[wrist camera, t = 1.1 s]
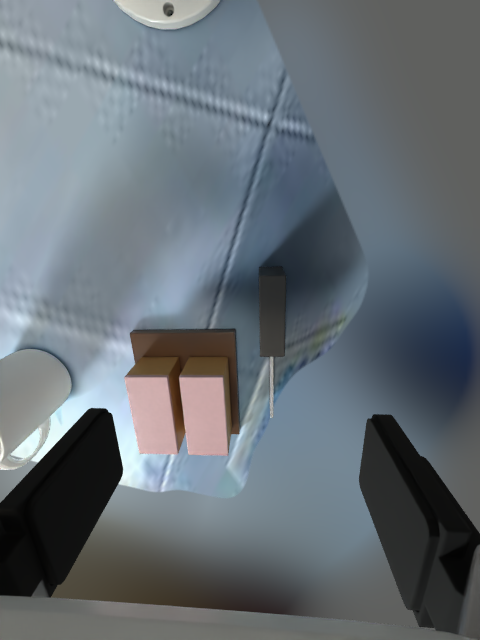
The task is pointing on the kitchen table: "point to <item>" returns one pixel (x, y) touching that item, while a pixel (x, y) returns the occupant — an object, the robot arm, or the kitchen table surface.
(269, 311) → the dark block with blade
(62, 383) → the mug
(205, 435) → the cake slice
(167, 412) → the block
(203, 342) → the cake board
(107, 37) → the kitchen table surface
